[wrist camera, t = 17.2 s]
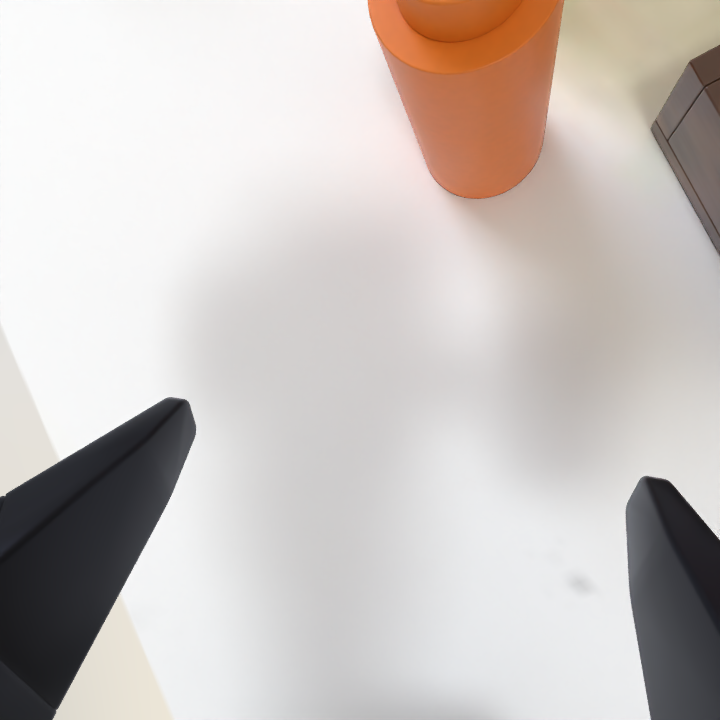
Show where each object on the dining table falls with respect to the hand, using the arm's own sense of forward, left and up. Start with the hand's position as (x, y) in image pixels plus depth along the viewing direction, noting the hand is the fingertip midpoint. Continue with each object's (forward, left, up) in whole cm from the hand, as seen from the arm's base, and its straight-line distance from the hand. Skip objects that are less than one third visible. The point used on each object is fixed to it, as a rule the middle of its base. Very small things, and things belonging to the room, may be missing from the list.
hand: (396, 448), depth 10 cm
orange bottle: (+10, -6, -13) cm, 18 cm away
